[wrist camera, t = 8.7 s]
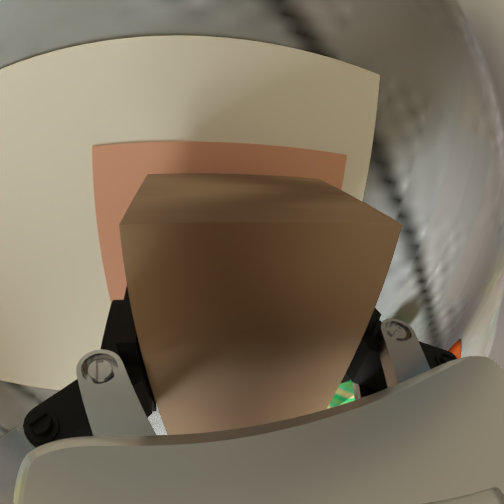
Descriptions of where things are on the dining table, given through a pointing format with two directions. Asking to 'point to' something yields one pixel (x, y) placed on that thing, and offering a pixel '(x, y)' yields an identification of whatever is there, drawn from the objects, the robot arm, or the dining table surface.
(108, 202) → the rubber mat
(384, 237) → the walnut card box
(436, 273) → the dining table surface
